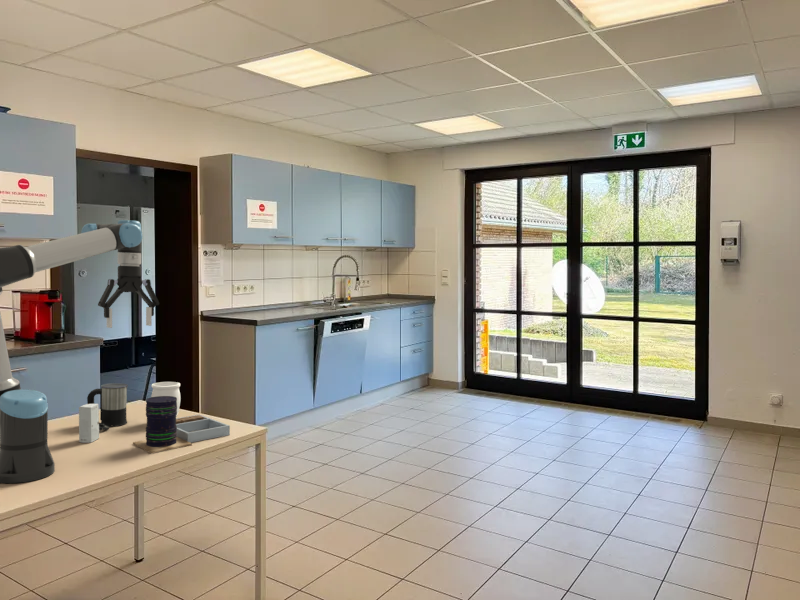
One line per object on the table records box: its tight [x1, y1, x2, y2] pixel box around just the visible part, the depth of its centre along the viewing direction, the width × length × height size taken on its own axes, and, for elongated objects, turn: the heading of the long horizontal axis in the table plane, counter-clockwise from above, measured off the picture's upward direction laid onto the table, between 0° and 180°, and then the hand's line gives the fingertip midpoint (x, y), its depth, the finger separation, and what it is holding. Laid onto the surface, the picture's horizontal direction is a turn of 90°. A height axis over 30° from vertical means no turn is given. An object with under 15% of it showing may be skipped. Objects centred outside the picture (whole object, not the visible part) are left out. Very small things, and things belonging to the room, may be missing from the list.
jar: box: [150, 381, 181, 418], centre depth 237 cm, size 11×10×15 cm
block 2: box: [188, 414, 204, 421], centre depth 232 cm, size 4×4×4 cm
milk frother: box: [86, 382, 129, 432], centre depth 230 cm, size 14×16×15 cm
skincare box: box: [78, 403, 100, 444], centre depth 212 cm, size 6×4×12 cm
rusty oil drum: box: [145, 396, 178, 447], centre depth 208 cm, size 10×10×15 cm
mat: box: [132, 437, 193, 454], centre depth 209 cm, size 14×14×1 cm
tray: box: [176, 414, 231, 443], centre depth 225 cm, size 16×22×3 cm
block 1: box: [178, 416, 193, 423], centre depth 229 cm, size 4×4×4 cm
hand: (129, 326), depth 216 cm, fingers open, 13 cm apart
